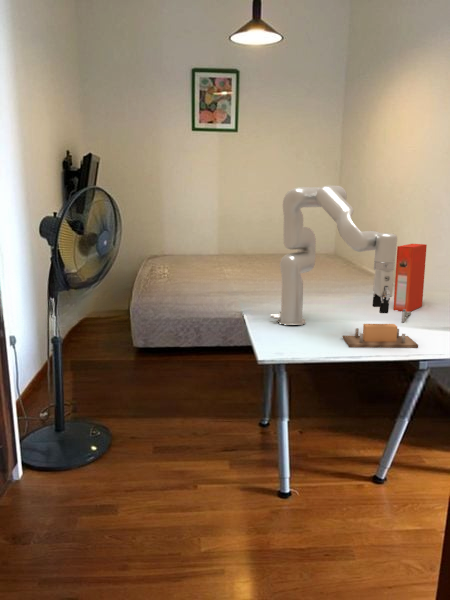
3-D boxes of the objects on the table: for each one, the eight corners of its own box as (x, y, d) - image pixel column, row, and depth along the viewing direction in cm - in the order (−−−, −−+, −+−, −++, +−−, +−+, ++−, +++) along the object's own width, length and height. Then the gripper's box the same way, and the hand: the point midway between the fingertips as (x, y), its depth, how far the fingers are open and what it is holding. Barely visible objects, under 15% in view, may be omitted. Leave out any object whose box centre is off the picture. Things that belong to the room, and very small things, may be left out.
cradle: (349, 347, 191) (349, 335, 190) (342, 338, 203) (343, 327, 202) (418, 347, 190) (419, 335, 189) (407, 338, 202) (408, 327, 201)
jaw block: (396, 341, 194) (397, 326, 193) (365, 341, 195) (365, 326, 193) (393, 338, 198) (394, 323, 197) (362, 338, 199) (363, 323, 197)
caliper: (403, 323, 227) (404, 310, 225) (401, 323, 227) (402, 309, 226) (411, 314, 244) (412, 301, 243) (409, 313, 245) (410, 301, 243)
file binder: (392, 310, 251) (397, 246, 244) (406, 304, 264) (411, 243, 257) (408, 312, 246) (413, 247, 239) (422, 306, 258) (427, 244, 252)
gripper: (401, 270, 182) (396, 315, 186) (387, 262, 199) (383, 304, 203) (380, 269, 182) (376, 315, 186) (368, 262, 199) (364, 304, 203)
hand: (380, 309), depth 194 cm, fingers open, 9 cm apart
